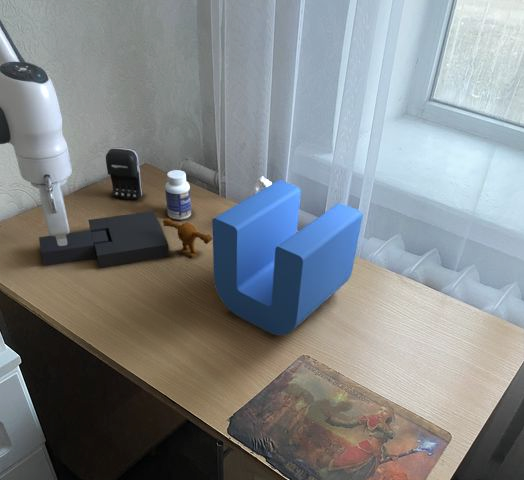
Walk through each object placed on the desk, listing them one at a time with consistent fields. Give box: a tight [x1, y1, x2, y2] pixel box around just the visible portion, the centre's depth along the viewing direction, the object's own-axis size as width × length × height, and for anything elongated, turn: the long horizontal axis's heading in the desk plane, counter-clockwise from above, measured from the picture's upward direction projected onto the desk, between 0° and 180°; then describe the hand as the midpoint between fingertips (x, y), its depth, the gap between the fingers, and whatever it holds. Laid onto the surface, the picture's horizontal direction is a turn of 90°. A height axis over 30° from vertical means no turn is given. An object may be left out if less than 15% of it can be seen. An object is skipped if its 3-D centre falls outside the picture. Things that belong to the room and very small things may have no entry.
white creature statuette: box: [252, 175, 273, 195], centre depth 115 cm, size 10×9×12 cm
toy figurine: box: [162, 217, 213, 258], centre depth 108 cm, size 12×4×7 cm, turn 56°
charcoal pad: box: [38, 229, 110, 266], centre depth 108 cm, size 13×6×3 cm, turn 110°
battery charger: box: [105, 146, 143, 201], centre depth 123 cm, size 7×4×11 cm, turn 82°
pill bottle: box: [164, 169, 192, 221], centre depth 119 cm, size 5×5×10 cm
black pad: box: [88, 210, 170, 269], centre depth 111 cm, size 14×14×3 cm
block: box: [211, 179, 364, 336], centre depth 95 cm, size 18×18×18 cm
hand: (60, 230), depth 106 cm, fingers open, 8 cm apart
